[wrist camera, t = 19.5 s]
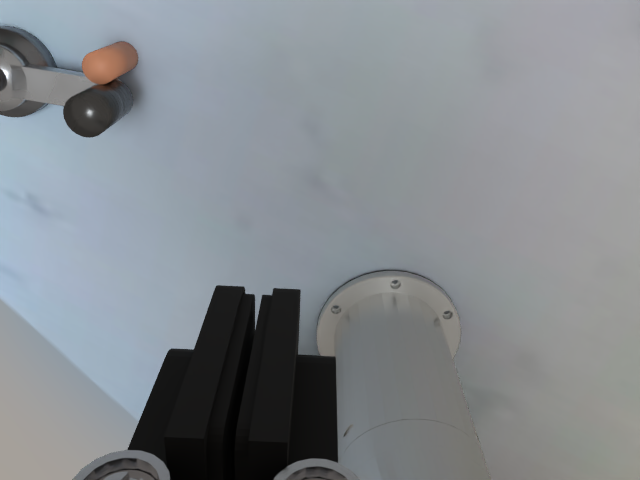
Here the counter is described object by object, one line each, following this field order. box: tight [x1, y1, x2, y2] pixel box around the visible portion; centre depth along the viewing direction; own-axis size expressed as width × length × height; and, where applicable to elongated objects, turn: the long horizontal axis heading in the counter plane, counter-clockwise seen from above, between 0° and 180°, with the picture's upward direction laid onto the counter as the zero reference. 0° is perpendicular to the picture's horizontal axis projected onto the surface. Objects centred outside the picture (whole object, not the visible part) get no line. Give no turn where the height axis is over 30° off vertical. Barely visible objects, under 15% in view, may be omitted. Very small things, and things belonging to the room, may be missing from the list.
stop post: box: [82, 42, 138, 84], centre depth 38 cm, size 2×2×5 cm
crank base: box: [0, 26, 56, 117], centre depth 40 cm, size 6×6×2 cm
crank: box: [0, 42, 133, 137], centre depth 36 cm, size 12×4×6 cm, turn 81°
